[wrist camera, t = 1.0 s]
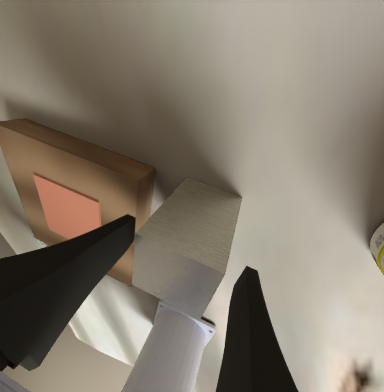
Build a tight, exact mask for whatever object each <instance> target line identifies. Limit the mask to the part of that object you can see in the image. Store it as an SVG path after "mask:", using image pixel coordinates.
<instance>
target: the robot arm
mask: <svg viewBox="0 0 384 392" xmlns="http://www.w3.org/2000/svg"><path fill="white" fill-rule="evenodd" d="M135 224H136V217H133V216H131V215H129V214H126V215H124V216H122V217H120V218H118V219H116V220H114V221H111V222H109V223H107V224H105V225H103V226H101V227H98V228H96V229H94V230H92V231H89V232H87V233H84V234H82V235H80V236H77V237H75V238H72V239H69V240H67V241H64V242H61V243H58V244H55V245H52V246H48V247H45V248H41V249H38V250H34V251H30V252H27V253H23V254H19V255H15V256H10V257H5V258H1V259H0V392H30V391H29V390H27V389H26V388H24V387H23V386H21V385H20V384H19V383H17V382H16V381H14V380H13V379H11V378H10V377H8V376H7V375H5V374H4V373H3V372H2V371H3V370H4V369H5V368H6V366H7V365H8V366H9V367H11V368H12V369H15V368H16V367H17V366H18V365H21V366H22V367H24V368H25V369H27V370H28V371H30V370H33V369H35V368H37V367H39V366H40V364H41V363H42V361H43V360H44V358H45V357H46V355H47V353H48V352H49V351H50V349H51V347H52V346H53V344H54V343H55V341H56V340H57V338H58V337H59V335H60V334H61V332H62V331H63V330H64V328H65V327H66V325H67V324H68V322H69V321H70V320H71V318H72V317H73V315H74V314H75V313H76V311H77V310H78V309H79V307H80V306H81V304H82V303H83V302H84V300H85V299H86V298H87V296H88V295H89V294H90V292H91V291H92V290H93V289H94V287H95V286H96V285H97V284H98V283H99V281H100V280H101V279H102V278H103V277H104V276H105V275H106V274H107V273H108V271H109V270H110V269H111V268H112V267H113V266H114V265H115V264H116V263H117V262H118V260H119V259H120V258H121V257H122V256H123V255H124V254H125V252H126V251H127V250H128V248H129V247H130V245H131V244H132V243H133V241H134V239H135ZM215 331H216V327H215V326H214V325H212V324H210V323H208V322H206V321H204V320H202V319H199V318H197V317H195V316H193V315H191V314H189V313H187V312H185V311H183V310H181V309H179V308H177V307H175V306H173V305H171V304H169V303H167V302H165V301H163V300H161V299H160V300H159V302H158V306H157V311H156V315H155V319H154V323H153V327H152V329H151V331H150V333H149V335H148V338H147V340H146V342H145V344H144V346H143V348H142V350H141V352H140V354H139V356H138V358H137V360H136V362H135V365H134V367H133V369H132V371H131V373H130V375H129V377H128V379H127V381H126V383H125V385H124V387H123V389H122V391H121V392H193V390H194V386H195V382H196V378H197V374H198V370H199V366H200V361H201V357H202V353H203V349H204V347H205V346H206V344H207V343H208V341H209V340H210V339H211V337H212V336H213V334H214V333H215ZM216 392H298V390H297V388H296V385H295V383H294V381H293V378H292V376H291V374H290V371H289V369H288V367H287V364H286V362H285V359H284V357H283V354H282V352H281V349H280V346H279V344H278V341H277V338H276V335H275V332H274V329H273V327H272V323H271V320H270V317H269V314H268V310H267V307H266V303H265V300H264V296H263V292H262V288H261V284H260V279H259V275H258V271H257V270H255V269H252V268H250V267H248V266H246V268H245V269H244V271H243V272H242V274H241V275H240V277H239V278H238V280H237V282H236V283H235V285H234V288H233V292H232V296H231V301H230V306H229V314H228V323H227V331H226V339H225V348H224V354H223V360H222V365H221V369H220V374H219V379H218V384H217V388H216Z"/></svg>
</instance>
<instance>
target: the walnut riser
mask: <svg viewBox="0 0 384 392" xmlns="http://www.w3.org/2000/svg"><path fill="white" fill-rule="evenodd" d="M0 146H1V149H2V151H3V154H4V157H5V159H6V162H7V165H8V167H9V170H10V173H11V176H12V178H13V181H14V184H15V186H16V189H17V192H18V194H19V197H20V200H21V202H22V205H23V208H24V211H25V213H26V216H27V219H28V221H29V224H30V227H31V229H32V232H33V235H34V237H35V238H37V239H39V240H40V241H42V242H44V243H46V244H48V245H50V246H52V245H55V244H58V243H61V242H64V241H67V240H69V239H72V238H75V237H77V236H80V235H82V234H84V233H87V232H89V231H92V230H94V229H96V228H98V227H101V226H103V225H105V224H107V223H109V222H111V221H114V220H116V219H118V218H120V217H122V216H124V215H126V214H129V215H131V216H133V217H136V224H135V233H136V232H137V231H138V230H139V229H140V228H141V227H142V226H143V225H144V223H145V222H146V221H147V220H148V219H149V218H150V210H151V202H152V194H153V185H154V177H155V169H156V168H153V167H151V166H148V165H145V164H143V163H140V162H138V161H135V160H132V159H130V158H127V157H124V156H122V155H119V154H116V153H114V152H111V151H108V150H106V149H103V148H100V147H98V146H95V145H93V144H90V143H87V142H85V141H82V140H79V139H77V138H74V137H71V136H69V135H66V134H63V133H61V132H58V131H55V130H53V129H50V128H48V127H45V126H42V125H40V124H37V123H34V122H32V121H29V120H26V119H17V120H8V121H0ZM134 247H135V239H134V241H133V243H132V244H131V245H130V247H129V248H128V250H127V251H126V252H125V254H124V255H123V256H122V257H121V258H120V259H119V260H118V262H117V263H116V264H115V265H114V266H113V267H112V268H111V269H110V270H109V271H108V273H107V275H109V276H111V277H113V278H115V279H117V280H119V281H121V282H123V283H125V284H126V285H128V286H130V287H131V286H132V276H133V261H134Z"/></svg>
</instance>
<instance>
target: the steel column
mask: <svg viewBox="0 0 384 392" xmlns="http://www.w3.org/2000/svg"><path fill="white" fill-rule="evenodd" d="M241 201H242V197H239V196H237V195H234V194H231V193H229V192H226V191H223V190H221V189H218V188H215V187H213V186H210V185H207V184H205V183H202V182H199V181H197V180H194V179H191V178H189V177H187V178H186V179H185V180H184V181H183V182H182V183H181V184H180V185H179V186H178V188H177V189H176V190H175V191H174V192H173V193H172V194H171V195H170V196H169V197H168V198H167V199H166V201H165V202H164V203H163V204H162V205H161V206H160V207H159V208H158V209H157V210H156V211H155V213H154V214H153V215H152V216H151V217H150V218H149V219H148V220H147V221H146V222H145V223H144V225H143V226H142V227H141V228H140V229H139V230H138V231H137V232H136V233H135V247H134V261H133V276H132V285H134V286H136V287H138V288H140V289H141V290H143V291H145V292H147V293H149V294H151V295H153V296H155V297H157V298H159V299H161V300H163V301H165V302H167V303H169V304H171V305H173V306H175V307H177V308H179V309H181V310H183V311H185V312H187V313H189V314H191V315H193V316H195V317H197V318H199V319H201V317H202V315H203V313H204V311H205V310H206V308H207V306H208V304H209V302H210V301H211V299H212V297H213V295H214V293H215V291H216V290H217V288H218V286H219V284H220V282H221V281H222V279H223V277H224V275H225V272H226V268H227V263H228V259H229V255H230V250H231V246H232V241H233V237H234V232H235V228H236V223H237V219H238V214H239V210H240V205H241Z"/></svg>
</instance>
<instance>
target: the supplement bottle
mask: <svg viewBox="0 0 384 392" xmlns="http://www.w3.org/2000/svg"><path fill="white" fill-rule="evenodd" d="M370 250H371V254H372V257H373V259H374V260H375V262H376V264H377V266H378V267H379V269H380V270H381V272H382V273H383V275H384V223H383V224H381V225H380V226H379V227H378V229H377V230H376V231H375V233H374V234H373V236H372V239H371V242H370Z"/></svg>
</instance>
